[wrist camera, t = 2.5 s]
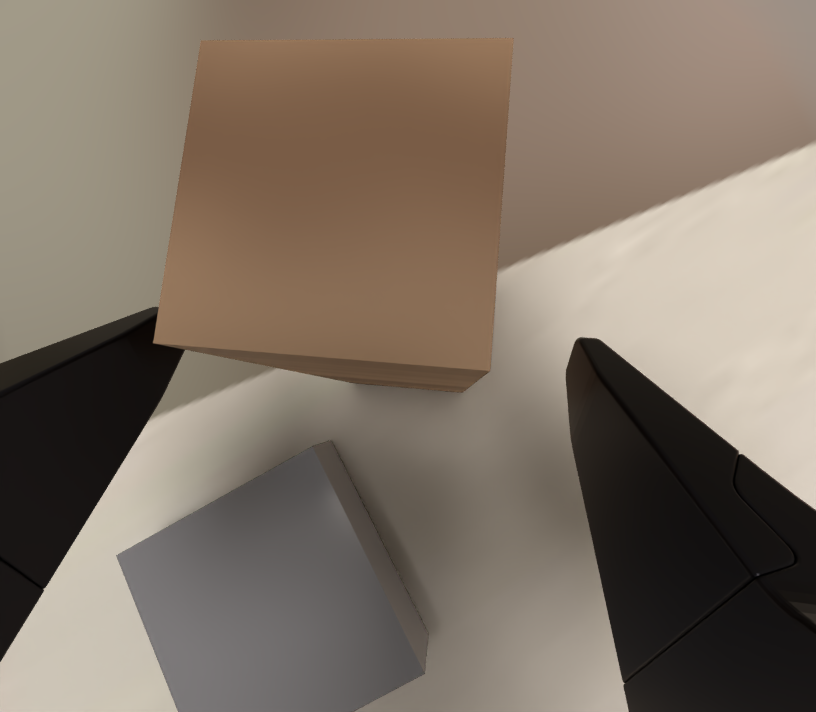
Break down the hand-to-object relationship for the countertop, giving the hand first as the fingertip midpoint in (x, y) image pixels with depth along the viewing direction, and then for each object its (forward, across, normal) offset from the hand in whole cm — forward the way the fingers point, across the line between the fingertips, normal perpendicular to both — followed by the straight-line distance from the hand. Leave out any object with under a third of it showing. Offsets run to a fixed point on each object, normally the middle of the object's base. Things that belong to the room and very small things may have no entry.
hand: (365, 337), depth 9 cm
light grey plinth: (0, +4, +13) cm, 14 cm away
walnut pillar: (+8, 0, +5) cm, 9 cm away
